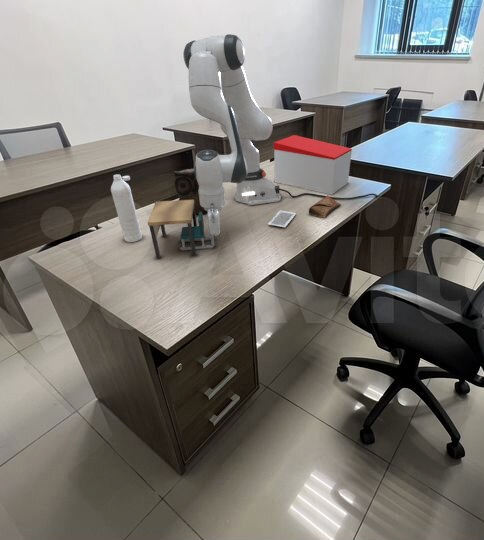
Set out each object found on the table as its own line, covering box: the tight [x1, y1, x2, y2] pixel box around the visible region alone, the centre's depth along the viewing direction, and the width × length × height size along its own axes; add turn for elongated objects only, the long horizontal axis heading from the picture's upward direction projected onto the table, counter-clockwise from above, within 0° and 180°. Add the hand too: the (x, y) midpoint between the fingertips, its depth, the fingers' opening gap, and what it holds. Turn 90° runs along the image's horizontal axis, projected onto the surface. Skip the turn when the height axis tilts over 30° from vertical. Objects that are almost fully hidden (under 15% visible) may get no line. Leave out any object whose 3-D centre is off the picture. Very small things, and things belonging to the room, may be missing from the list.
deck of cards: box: [267, 210, 297, 228], centre depth 146 cm, size 8×15×2 cm, turn 160°
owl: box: [173, 168, 208, 217], centre depth 148 cm, size 13×13×20 cm
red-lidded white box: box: [273, 134, 353, 195], centre depth 182 cm, size 21×35×21 cm, turn 58°
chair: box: [179, 212, 215, 251], centre depth 126 cm, size 12×8×12 cm, turn 99°
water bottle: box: [110, 173, 143, 243], centre depth 126 cm, size 9×6×25 cm
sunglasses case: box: [308, 194, 342, 219], centre depth 156 cm, size 18×7×7 cm
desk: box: [147, 199, 198, 260], centre depth 125 cm, size 14×18×14 cm
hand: (216, 234), depth 128 cm, fingers closed, pressing on chair
